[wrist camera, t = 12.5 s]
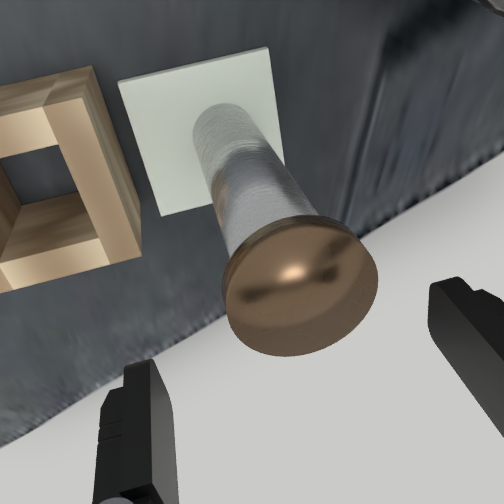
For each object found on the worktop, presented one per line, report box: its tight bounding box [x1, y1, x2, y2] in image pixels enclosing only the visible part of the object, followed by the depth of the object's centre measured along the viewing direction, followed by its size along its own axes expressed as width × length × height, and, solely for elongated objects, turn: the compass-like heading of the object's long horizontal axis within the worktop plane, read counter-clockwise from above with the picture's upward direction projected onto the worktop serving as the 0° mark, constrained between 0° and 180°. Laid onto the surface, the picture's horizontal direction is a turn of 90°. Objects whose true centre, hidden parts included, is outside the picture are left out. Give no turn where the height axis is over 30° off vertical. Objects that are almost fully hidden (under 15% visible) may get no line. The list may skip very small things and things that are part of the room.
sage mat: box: [118, 47, 285, 216], centre depth 27 cm, size 8×8×1 cm
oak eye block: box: [0, 66, 142, 293], centre depth 23 cm, size 8×8×6 cm
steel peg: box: [193, 103, 378, 357], centre depth 21 cm, size 5×5×15 cm
